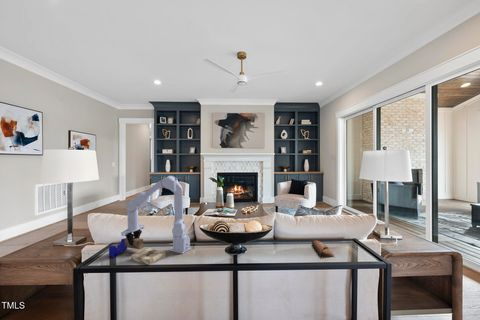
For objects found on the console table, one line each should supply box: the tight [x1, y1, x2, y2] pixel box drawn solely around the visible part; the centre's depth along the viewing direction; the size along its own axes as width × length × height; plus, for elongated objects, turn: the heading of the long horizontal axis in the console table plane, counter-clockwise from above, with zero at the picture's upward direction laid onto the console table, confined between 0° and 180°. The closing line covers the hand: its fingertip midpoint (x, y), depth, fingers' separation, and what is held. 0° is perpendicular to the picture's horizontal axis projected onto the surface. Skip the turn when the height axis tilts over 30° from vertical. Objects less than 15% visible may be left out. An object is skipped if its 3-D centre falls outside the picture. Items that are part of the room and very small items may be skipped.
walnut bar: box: [123, 237, 145, 250], centre depth 142 cm, size 12×3×5 cm, turn 64°
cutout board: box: [130, 247, 167, 266], centre depth 132 cm, size 14×11×2 cm
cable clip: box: [108, 238, 128, 258], centre depth 140 cm, size 12×4×6 cm, turn 171°
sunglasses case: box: [311, 239, 336, 258], centre depth 142 cm, size 18×7×7 cm
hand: (133, 244), depth 142 cm, fingers closed on walnut bar, 3 cm apart
